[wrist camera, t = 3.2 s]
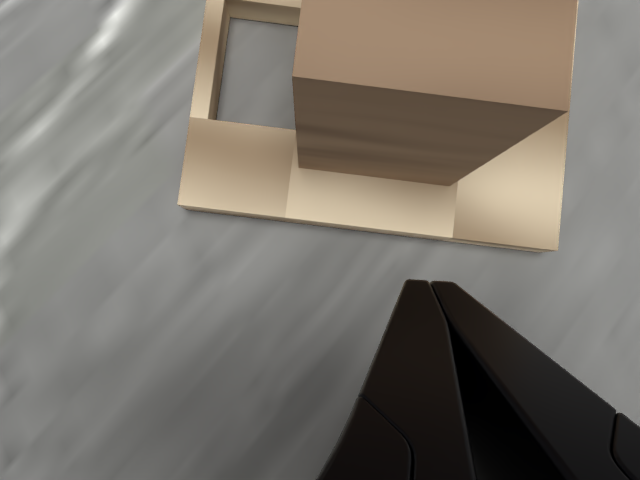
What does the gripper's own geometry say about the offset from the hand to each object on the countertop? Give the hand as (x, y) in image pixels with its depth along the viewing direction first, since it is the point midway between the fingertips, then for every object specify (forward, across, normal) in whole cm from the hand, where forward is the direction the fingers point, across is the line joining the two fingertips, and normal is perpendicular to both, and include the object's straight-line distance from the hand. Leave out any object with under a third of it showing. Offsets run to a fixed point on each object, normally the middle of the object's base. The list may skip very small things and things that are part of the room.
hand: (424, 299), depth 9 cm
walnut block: (+14, 0, -1) cm, 14 cm away
